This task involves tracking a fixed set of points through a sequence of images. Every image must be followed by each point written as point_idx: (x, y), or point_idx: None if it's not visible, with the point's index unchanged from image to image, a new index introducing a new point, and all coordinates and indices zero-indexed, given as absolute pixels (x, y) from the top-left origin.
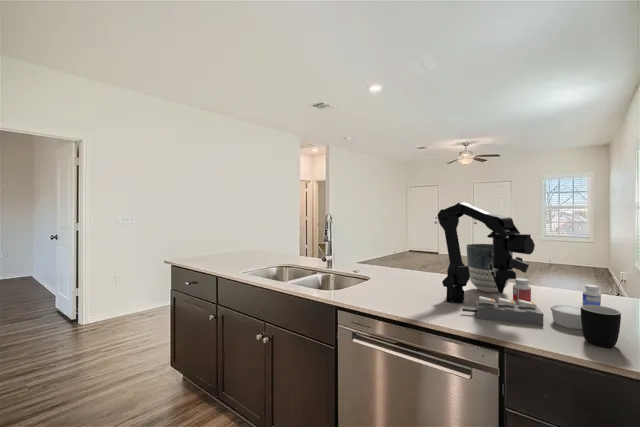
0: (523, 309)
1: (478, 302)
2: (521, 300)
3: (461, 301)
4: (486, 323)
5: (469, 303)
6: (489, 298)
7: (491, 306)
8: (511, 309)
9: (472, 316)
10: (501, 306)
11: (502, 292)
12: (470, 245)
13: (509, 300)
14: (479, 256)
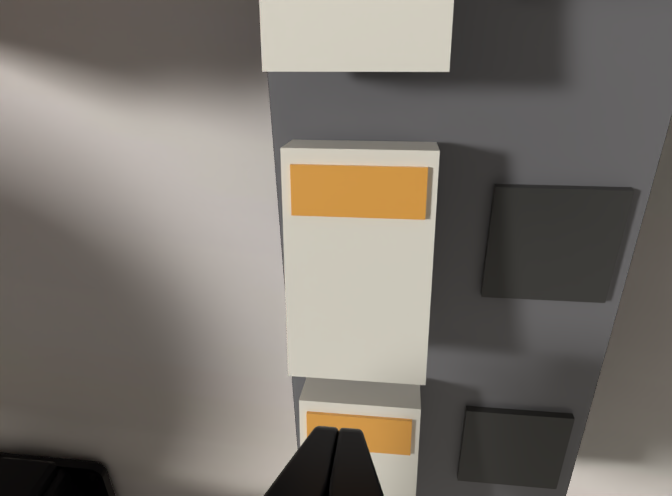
0: (533, 16)
1: None
2: (323, 26)
3: (84, 478)
4: (667, 394)
5: (66, 415)
6: None
7: (500, 423)
8: (608, 224)
9: None
10: (437, 308)
11: (362, 442)
12: None
13: (306, 224)
14: None
